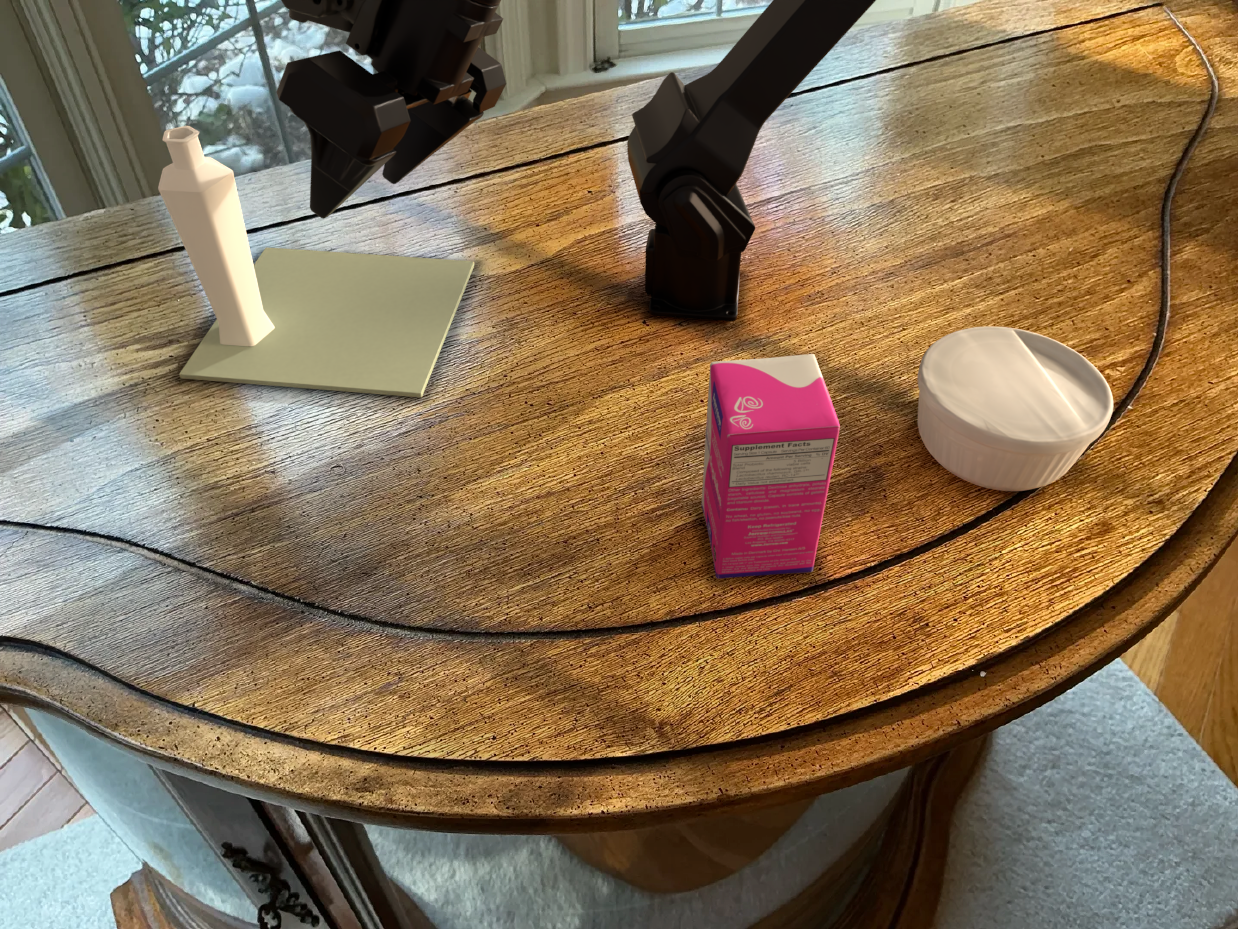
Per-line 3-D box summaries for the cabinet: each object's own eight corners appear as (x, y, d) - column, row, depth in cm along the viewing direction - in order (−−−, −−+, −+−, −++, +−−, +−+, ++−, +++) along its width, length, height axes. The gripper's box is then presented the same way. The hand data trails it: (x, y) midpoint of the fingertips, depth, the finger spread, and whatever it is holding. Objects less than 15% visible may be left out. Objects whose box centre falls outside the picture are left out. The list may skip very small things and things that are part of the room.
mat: (474, 265, 77) (474, 261, 77) (421, 397, 66) (420, 393, 66) (266, 251, 79) (265, 247, 79) (180, 378, 68) (178, 374, 67)
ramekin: (1118, 448, 63) (1150, 385, 59) (1021, 536, 57) (1049, 472, 54) (969, 365, 69) (989, 302, 65) (868, 437, 63) (883, 374, 60)
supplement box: (696, 506, 59) (708, 356, 51) (793, 500, 59) (821, 350, 51) (711, 582, 55) (726, 432, 47) (815, 575, 55) (848, 425, 47)
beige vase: (221, 359, 68) (148, 159, 58) (206, 326, 71) (134, 129, 61) (286, 339, 70) (227, 140, 60) (269, 307, 73) (209, 112, 62)
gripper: (414, -108, 64) (329, 99, 72) (240, -114, 48) (158, 151, 57) (553, -4, 65) (453, 190, 73) (425, 24, 49) (317, 266, 57)
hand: (355, 195), depth 65 cm, fingers open, 9 cm apart
